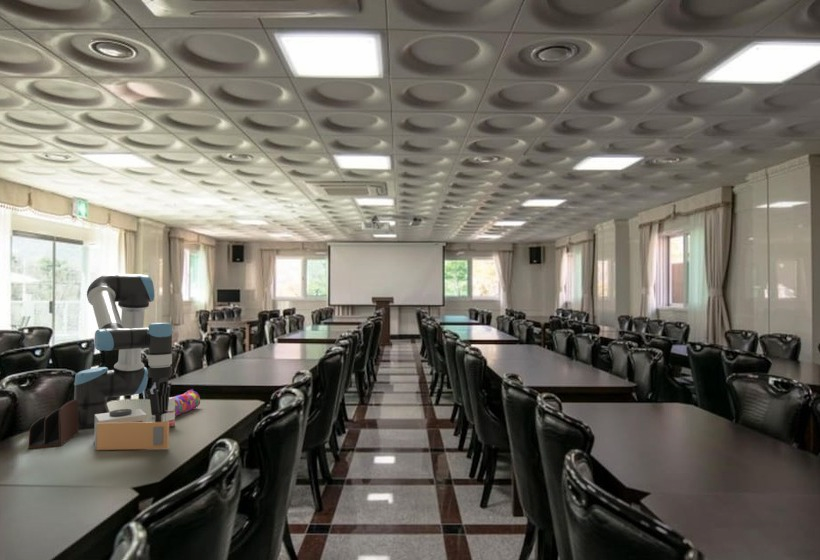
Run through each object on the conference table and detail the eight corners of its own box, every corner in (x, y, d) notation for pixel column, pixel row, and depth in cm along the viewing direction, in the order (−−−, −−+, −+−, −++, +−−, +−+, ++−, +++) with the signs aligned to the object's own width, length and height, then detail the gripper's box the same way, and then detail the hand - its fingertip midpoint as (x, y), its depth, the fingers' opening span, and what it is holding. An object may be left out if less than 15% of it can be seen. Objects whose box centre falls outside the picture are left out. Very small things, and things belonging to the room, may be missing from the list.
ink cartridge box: (175, 425, 205) (175, 390, 205) (165, 428, 200) (166, 392, 201) (160, 424, 208) (160, 388, 209) (150, 426, 203) (150, 391, 204)
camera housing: (94, 441, 182) (94, 411, 183) (139, 434, 192) (140, 405, 192) (98, 449, 172) (99, 417, 172) (146, 441, 181) (147, 411, 182)
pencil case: (182, 408, 240) (182, 389, 240) (201, 408, 239) (201, 389, 240) (158, 418, 218) (159, 398, 218) (180, 418, 218) (180, 398, 218)
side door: (96, 448, 172) (96, 422, 172) (168, 447, 173) (169, 421, 173) (92, 450, 170) (93, 424, 170) (166, 449, 171) (166, 422, 171)
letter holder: (78, 432, 196) (79, 397, 196) (60, 446, 177) (61, 407, 177) (48, 435, 192) (49, 398, 193) (27, 449, 174) (28, 409, 174)
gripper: (158, 363, 182) (157, 428, 181) (140, 368, 169) (139, 438, 168) (178, 363, 182) (178, 427, 181) (162, 368, 169) (161, 437, 168)
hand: (159, 432), depth 175 cm, fingers closed
